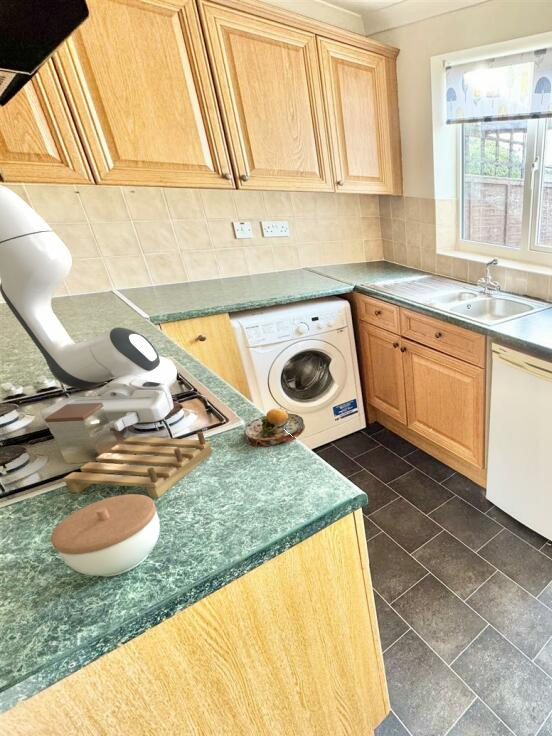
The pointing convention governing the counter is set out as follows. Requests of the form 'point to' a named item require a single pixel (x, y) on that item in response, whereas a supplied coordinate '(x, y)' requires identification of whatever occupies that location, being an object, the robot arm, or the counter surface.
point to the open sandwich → (274, 428)
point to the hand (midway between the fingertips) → (84, 429)
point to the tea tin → (82, 432)
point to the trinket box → (108, 535)
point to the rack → (135, 445)
